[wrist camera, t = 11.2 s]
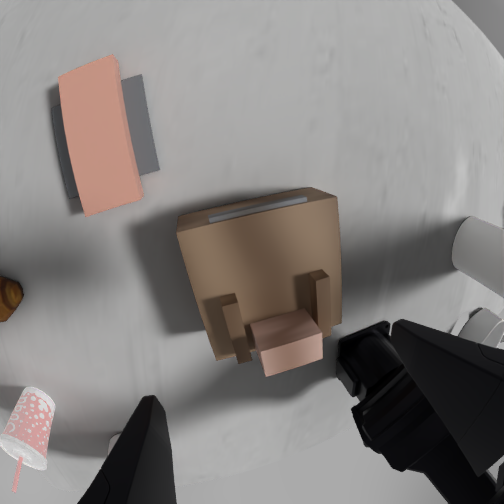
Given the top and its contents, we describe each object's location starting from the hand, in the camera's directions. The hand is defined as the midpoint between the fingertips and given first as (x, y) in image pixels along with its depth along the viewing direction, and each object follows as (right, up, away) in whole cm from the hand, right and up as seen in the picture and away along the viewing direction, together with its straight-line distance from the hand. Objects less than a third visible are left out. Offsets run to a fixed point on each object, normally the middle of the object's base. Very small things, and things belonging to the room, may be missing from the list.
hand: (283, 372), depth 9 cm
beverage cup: (-27, -14, +13) cm, 33 cm away
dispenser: (-1, +3, +13) cm, 13 cm away
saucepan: (+41, -10, +28) cm, 51 cm away
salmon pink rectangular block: (-11, +12, +7) cm, 18 cm away
